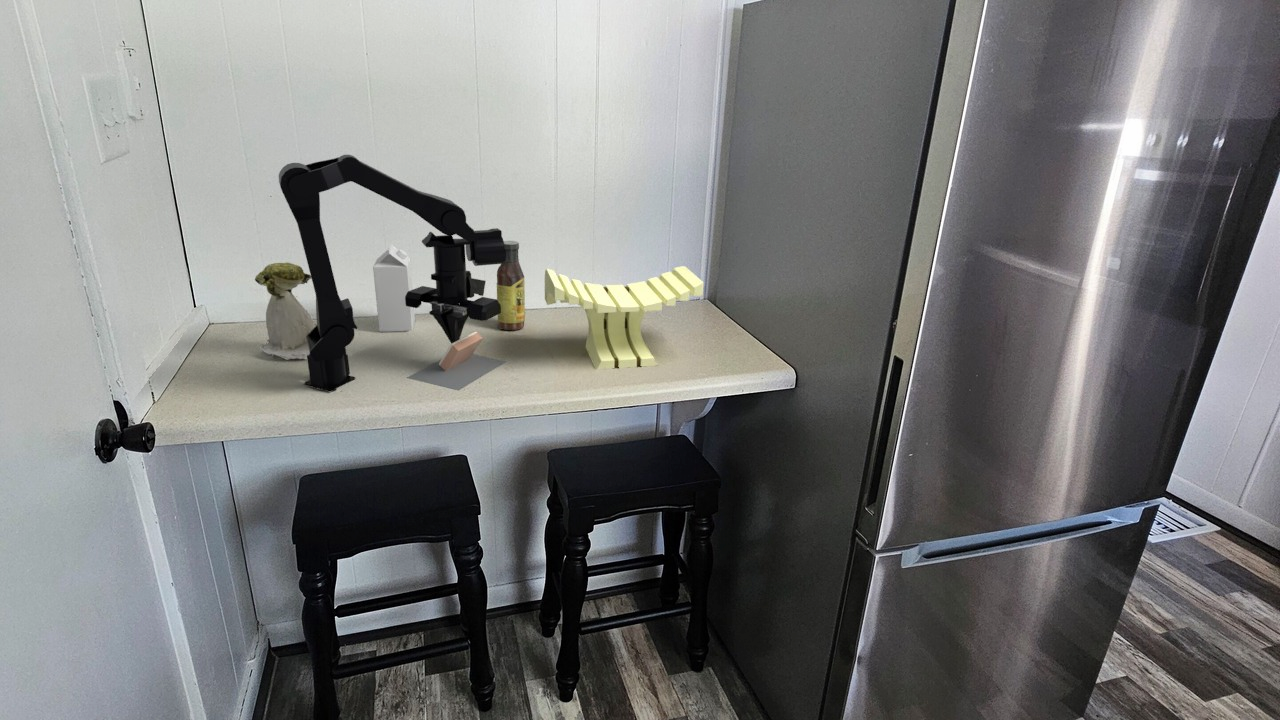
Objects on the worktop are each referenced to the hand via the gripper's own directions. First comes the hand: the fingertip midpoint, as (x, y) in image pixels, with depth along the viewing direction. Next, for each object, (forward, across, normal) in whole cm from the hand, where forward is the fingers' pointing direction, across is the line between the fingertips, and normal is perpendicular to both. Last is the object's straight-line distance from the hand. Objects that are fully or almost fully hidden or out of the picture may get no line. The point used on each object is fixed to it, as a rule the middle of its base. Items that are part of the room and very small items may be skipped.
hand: (455, 344), depth 142 cm
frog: (+5, +33, +9) cm, 35 cm away
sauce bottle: (+5, +3, -25) cm, 26 cm away
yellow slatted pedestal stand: (+5, -26, -22) cm, 34 cm away
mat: (+5, -2, +2) cm, 5 cm away
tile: (+4, 0, 0) cm, 4 cm away
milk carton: (+5, +25, -12) cm, 28 cm away
